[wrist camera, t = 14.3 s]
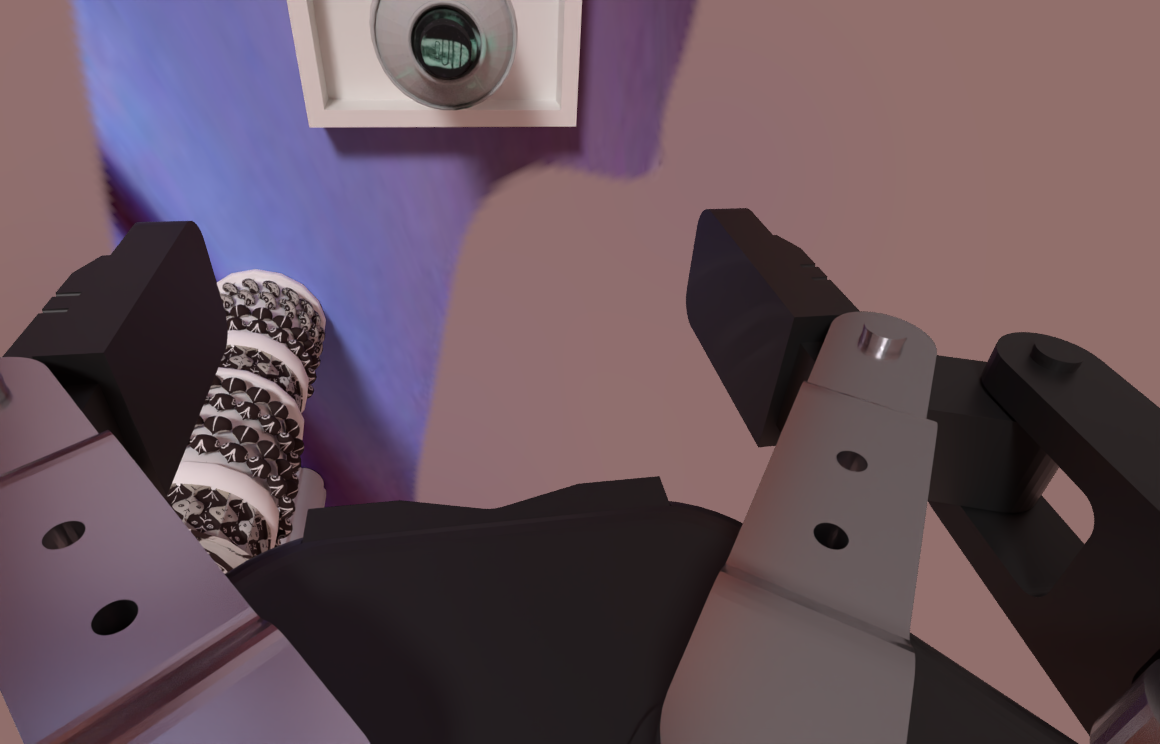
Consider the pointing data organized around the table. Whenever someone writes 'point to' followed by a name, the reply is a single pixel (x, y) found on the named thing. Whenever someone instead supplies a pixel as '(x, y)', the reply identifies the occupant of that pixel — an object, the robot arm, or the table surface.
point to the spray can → (445, 48)
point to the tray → (369, 99)
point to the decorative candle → (252, 420)
